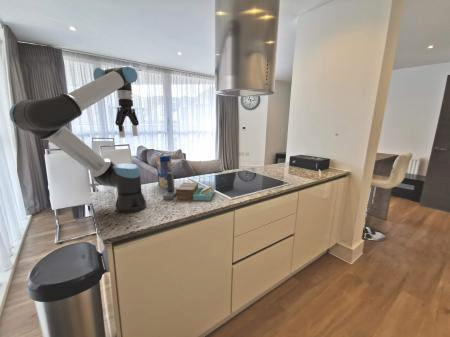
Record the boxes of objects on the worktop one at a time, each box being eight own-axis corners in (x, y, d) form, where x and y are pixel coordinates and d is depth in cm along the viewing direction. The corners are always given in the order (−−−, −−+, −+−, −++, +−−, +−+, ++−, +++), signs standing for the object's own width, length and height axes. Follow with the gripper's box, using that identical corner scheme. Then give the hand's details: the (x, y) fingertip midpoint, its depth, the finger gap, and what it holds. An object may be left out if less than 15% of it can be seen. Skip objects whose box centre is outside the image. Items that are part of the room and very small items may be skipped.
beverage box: (167, 182, 159) (165, 154, 155) (172, 186, 150) (170, 156, 146) (158, 184, 156) (156, 155, 151) (163, 187, 147) (160, 157, 142)
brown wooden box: (192, 199, 124) (192, 189, 123) (176, 199, 125) (176, 189, 124) (198, 192, 137) (198, 183, 136) (183, 191, 138) (183, 182, 137)
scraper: (172, 199, 124) (171, 176, 121) (163, 199, 125) (161, 175, 122) (181, 191, 140) (180, 170, 137) (172, 191, 140) (171, 170, 137)
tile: (200, 192, 127) (202, 196, 127) (209, 188, 125) (211, 192, 126) (202, 189, 132) (204, 193, 133) (210, 185, 131) (213, 189, 132)
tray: (209, 200, 122) (209, 195, 121) (193, 199, 123) (193, 195, 123) (214, 192, 137) (214, 187, 136) (199, 191, 138) (199, 187, 137)
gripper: (118, 96, 106) (122, 138, 111) (142, 101, 130) (145, 135, 135) (104, 96, 107) (109, 138, 111) (131, 101, 131) (134, 135, 136)
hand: (129, 136), depth 123 cm, fingers open, 13 cm apart
